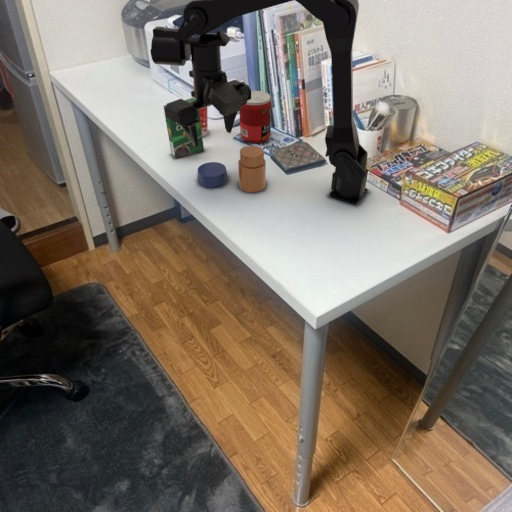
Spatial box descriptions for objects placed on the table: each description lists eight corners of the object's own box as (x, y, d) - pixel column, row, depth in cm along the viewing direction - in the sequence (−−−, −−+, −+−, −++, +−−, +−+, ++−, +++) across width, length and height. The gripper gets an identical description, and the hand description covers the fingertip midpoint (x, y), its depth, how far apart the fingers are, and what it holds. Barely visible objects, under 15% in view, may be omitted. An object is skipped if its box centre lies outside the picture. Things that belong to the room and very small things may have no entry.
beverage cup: (215, 133, 132) (211, 81, 123) (198, 141, 128) (192, 88, 119) (200, 126, 135) (195, 74, 126) (182, 133, 132) (176, 81, 123)
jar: (270, 182, 113) (270, 148, 107) (256, 195, 109) (255, 160, 103) (248, 175, 115) (247, 142, 110) (234, 187, 111) (232, 153, 106)
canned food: (267, 145, 126) (268, 103, 119) (237, 142, 127) (235, 101, 120) (272, 131, 132) (273, 91, 125) (243, 129, 133) (242, 89, 126)
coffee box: (174, 159, 121) (167, 108, 113) (170, 154, 123) (162, 104, 115) (204, 151, 124) (199, 101, 116) (199, 146, 126) (194, 97, 118)
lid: (194, 177, 115) (192, 166, 113) (220, 170, 117) (219, 159, 115) (205, 190, 110) (203, 179, 109) (231, 183, 113) (231, 172, 111)
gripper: (193, 91, 88) (201, 168, 98) (269, 65, 97) (269, 137, 108) (158, 75, 94) (168, 148, 104) (232, 51, 104) (235, 121, 114)
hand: (212, 139), depth 107 cm, fingers open, 9 cm apart
